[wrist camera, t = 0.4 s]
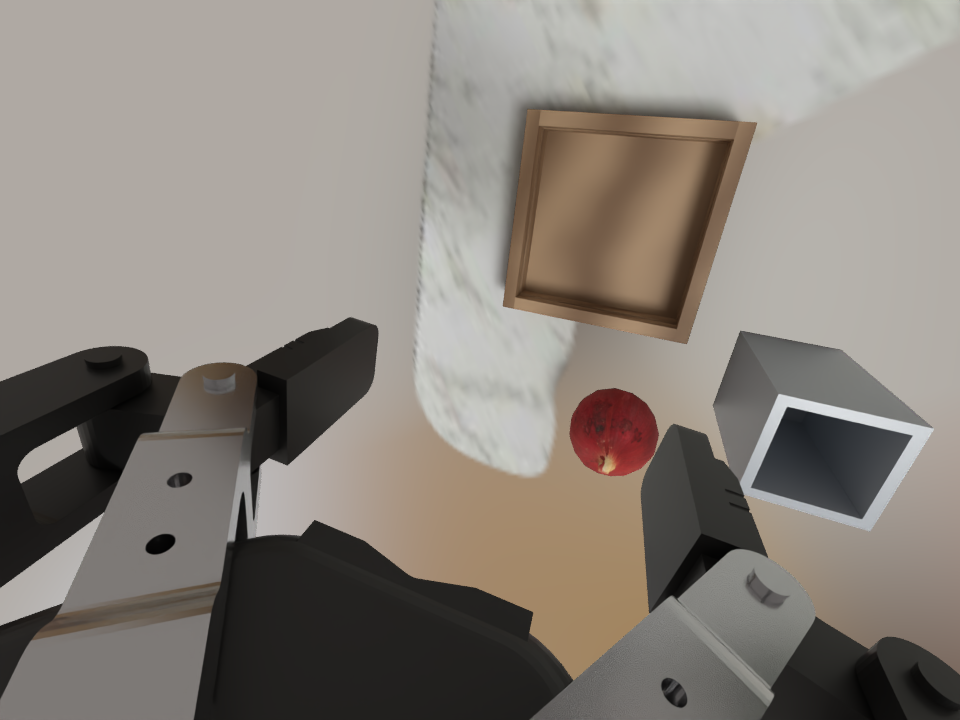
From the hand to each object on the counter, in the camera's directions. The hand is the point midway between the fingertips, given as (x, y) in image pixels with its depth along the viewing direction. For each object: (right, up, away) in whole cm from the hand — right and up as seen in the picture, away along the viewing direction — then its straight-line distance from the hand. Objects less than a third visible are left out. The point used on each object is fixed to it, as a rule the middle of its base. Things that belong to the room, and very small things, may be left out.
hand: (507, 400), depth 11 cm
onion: (+10, -3, +21) cm, 24 cm away
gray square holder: (+19, 0, +17) cm, 25 cm away
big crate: (+8, +10, +17) cm, 21 cm away
